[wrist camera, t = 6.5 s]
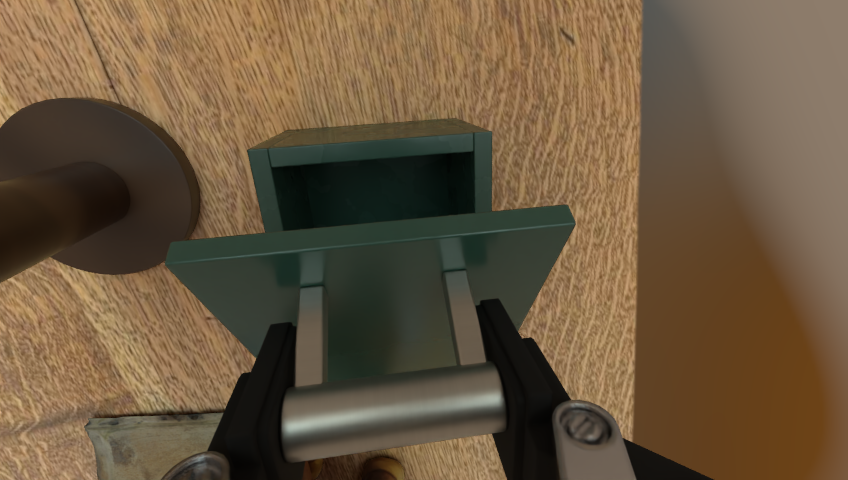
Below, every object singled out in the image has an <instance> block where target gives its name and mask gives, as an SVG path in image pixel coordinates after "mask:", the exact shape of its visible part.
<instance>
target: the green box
mask: <svg viewBox="0 0 848 480" xmlns="http://www.w3.org/2000/svg"><path fill="white" fill-rule="evenodd" d="M247 152H248V157H249V161H250V166H251V170H252V175H253V179H254V184H255V188H256V193H257V197H258V202H259V207H260V211H261V216H262V220H263V225H264V229H265V233H268V232H279V231H290V230H300V229H311V228H322V227H332V226H343V225H353V224H364V223H375V222H385V221H396V220H407V219H417V218H428V217H438V216H449V215H460V214H470V213H481V212H492V131H489V130H486V129H484V128H481V127H478V126H475V125H473V124H470V123H467V122H465V121H462V120H459V119H456V118H451V119H437V120H423V121H409V122H395V123H381V124H367V125H353V126H339V127H325V128H311V129H297V130H286V131H284V132H282V133H280V134H278V135H276V136H274V137H272V138H270V139H268V140H266V141H264V142H262V143H260V144H258V145H256V146H254V147H252V148H250V149H248V150H247Z"/></svg>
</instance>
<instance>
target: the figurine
mask: <svg viewBox="0 0 848 480" xmlns="http://www.w3.org/2000/svg"><path fill="white" fill-rule="evenodd" d="M323 464H324V462H323V458H321V459H315V460H308V461H305V466H304V472H303V478H302V480H315V479H316V478H317V476H318V475H319V473H320V471H321V469H322V466H323ZM404 477H405V473H404V469H403V467H402V466H401V464H400V463H399V462H397V461H396V460H393V459H389V458H384V457H379V458H375V459H371V460H369V461H368V462H367V463H366V465H365V467H364V471H363V474H362V480H404Z"/></svg>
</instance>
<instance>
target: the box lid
mask: <svg viewBox="0 0 848 480" xmlns="http://www.w3.org/2000/svg"><path fill="white" fill-rule="evenodd" d="M575 225H576V223H575V220H574V218H573V215H572V213H571V211H570V209H569V207H568V205H555V206H545V207H534V208H523V209H513V210H502V211H492V212H481V213H470V214H460V215H449V216H438V217H428V218H417V219H407V220H396V221H385V222H375V223H364V224H353V225H343V226H332V227H322V228H311V229H300V230H290V231H279V232H268V233H258V234H247V235H237V236H226V237H215V238H205V239H194V240H183V241H173V242H171V243H170V246H169V249H168V253H167V256H166V260H165V266H166V267H167V268H168V269H169V270H170V271H171V272H172V273H173V274H174V275H175V276H176V277H177V278H178V279H179V280H180V281H181V282H182V283H183V284H184V285H185V286H186V287H187V288H188V289H189V290H190V291H191V292H192V293H193V294H194V295H195V296H196V297H197V299H198V300H199V301H200V302H201V303H202V304H203V305H204V306H205V307H206V308H207V309H208V310H209V311H210V312H211V313H212V314H213V315H214V316H215V317H216V318H217V319H218V320H219V321H220V322H221V323H222V324H223V325H224V326H225V327H226V328H227V329H228V330H229V331H230V332H231V333H232V334H233V335H234V336H235V337H236V338H237V339H238V340H239V341H240V342H241V343H242V344H243V345H244V346H245V347H246V348H247V349H248V350H249V351H250V353H251V354H252V355H253V356H254V357H255V358H256V359H257V356H258V354H259V351H260V349H261V346H262V344H263V342H264V339H265V337H266V334H267V332H268V329H269V327H270V325H271V324H276V323H285V322H292V324H293V326H297V330H296V348H295V367H294V385H293V387H289V388H288V389H286V391H285V392H284V395H283V398H282V401H281V406H280V413H279V441H280V447H281V451H282V455H283V458H284V460H285V461H286V462H289V463H294V462H301V461H308V460H315V459H321V458H328V457H335V456H342V455H349V454H355V453H362V452H369V451H376V450H383V449H390V448H396V447H403V446H410V445H417V444H424V443H430V442H437V441H444V440H451V439H458V438H465V437H471V436H478V435H485V434H492V433H499V432H504V431H505V430H506V429H507V427H508V420H509V413H508V402H507V396H506V391H505V387H504V383H503V379H502V376H501V374H500V371H499V369H498V367H497V365H496V364H495V363H494V362H492V361H488V360H487V355H486V351H485V347H484V342H483V338H482V333H481V329H480V325H479V320H478V316H477V312H476V307H475V306H476V305H479V304H480V301H481V300H487V299H496V298H498V299H499V300H500V301H501V303H502V305H503V306H504V308H505V310H506V312H507V313H508V315H509V317H510V319H511V320H512V322H513V324H514V326H515V327H516V329H517V331H518V330H519V328H520V327H521V325H522V323H523V321H524V319H525V317H526V315H527V314H528V312H529V310H530V308H531V306H532V304H533V303H534V301H535V299H536V297H537V295H538V293H539V291H540V290H541V288H542V286H543V284H544V282H545V280H546V279H547V277H548V275H549V273H550V271H551V269H552V267H553V266H554V264H555V262H556V260H557V258H558V256H559V255H560V253H561V251H562V249H563V247H564V245H565V243H566V242H567V240H568V238H569V236H570V234H571V232H572V230H573V229H574V227H575Z"/></svg>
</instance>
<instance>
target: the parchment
mask: <svg viewBox="0 0 848 480" xmlns="http://www.w3.org/2000/svg"><path fill="white" fill-rule="evenodd" d="M222 415H223V413H209V414H192V415H179V414H175V415H170V416H168V415H162V416H160V415H159V416H143V417H141V416H131V417H119V418H89V419H88V420H89V423H88V424H87V425H86V426H84V428H85V430H86V431H87V433H88V436H89V438H90V439H91V441H92V443H93V446H94V449H95V455H96V461H97V476H98V480H161V479H162V477H163V476H164V475H165V474H166V473H167V472H168V471H169V470H170V469H171V468H172V467H173V466H175V465H176V464H178V463H179V462H180V461H182V460H183V459H185V458H187V457H190V456H192V455H194V454H197V453H201V452H205V451H207V450H208V447H209V445H210V443H211V441H212V438H213V436H214V434H215V431H216V429H217V427H218V425H219V422H220V420H221V418H222Z"/></svg>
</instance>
